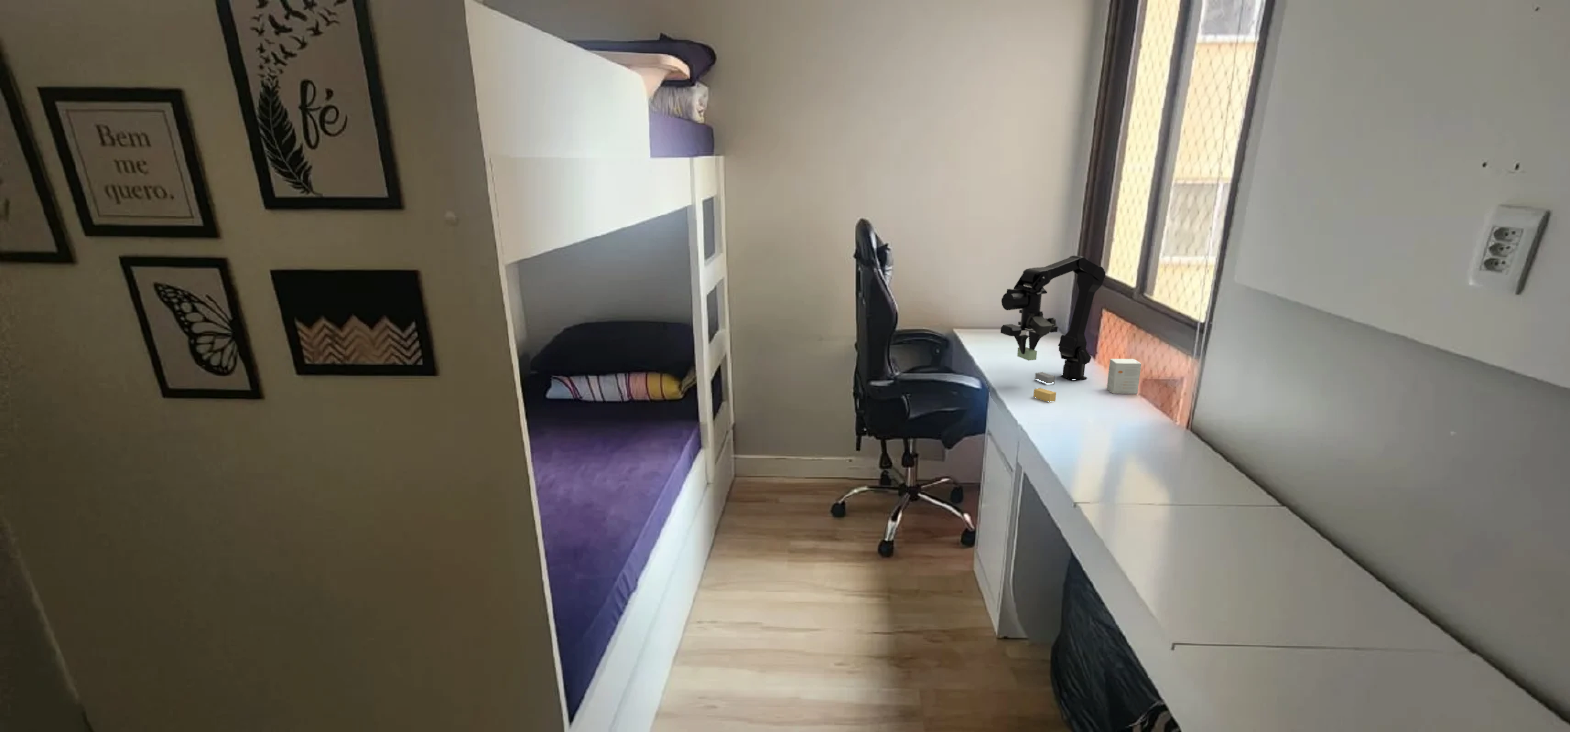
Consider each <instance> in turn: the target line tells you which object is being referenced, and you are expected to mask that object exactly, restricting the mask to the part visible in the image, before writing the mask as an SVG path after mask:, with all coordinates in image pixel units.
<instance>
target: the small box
mask: <svg viewBox="0 0 1570 732" xmlns="http://www.w3.org/2000/svg"><path fill="white" fill-rule="evenodd" d="M1141 369H1142V363H1141V362H1140V361H1138V360H1136V359H1135V358H1110V359H1109V364H1108V373H1107V381H1106V382H1107V384H1106V390H1108V391H1109V392H1110V393H1112V394H1113V395H1115V394H1117V395H1122V394H1123V395H1125V394H1127V395H1128V394H1129V395H1133V394H1134V395H1137V394H1138V392H1139V383H1140V377H1141Z"/></svg>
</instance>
